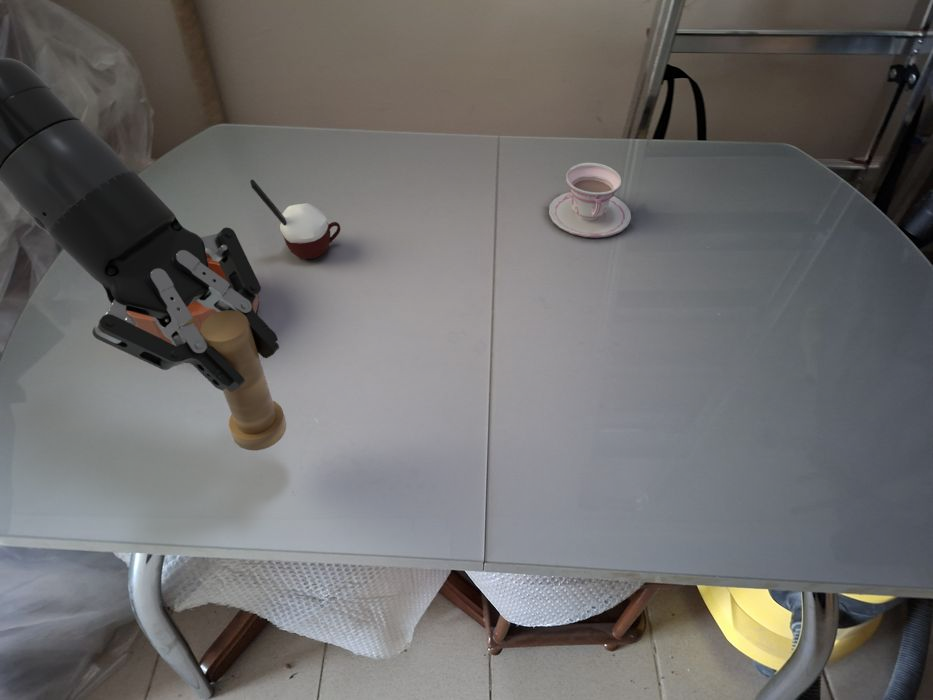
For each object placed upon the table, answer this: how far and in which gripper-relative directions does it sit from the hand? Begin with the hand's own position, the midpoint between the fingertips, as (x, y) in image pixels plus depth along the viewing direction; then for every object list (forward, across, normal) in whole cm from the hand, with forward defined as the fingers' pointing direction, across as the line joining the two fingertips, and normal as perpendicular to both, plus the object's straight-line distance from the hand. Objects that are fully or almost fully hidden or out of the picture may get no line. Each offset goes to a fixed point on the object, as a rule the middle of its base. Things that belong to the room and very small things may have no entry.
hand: (255, 368), depth 53 cm
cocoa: (-4, +31, +26) cm, 40 cm away
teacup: (+18, +57, +4) cm, 60 cm away
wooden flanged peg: (+5, 0, +8) cm, 9 cm away
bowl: (-7, +14, +29) cm, 33 cm away
